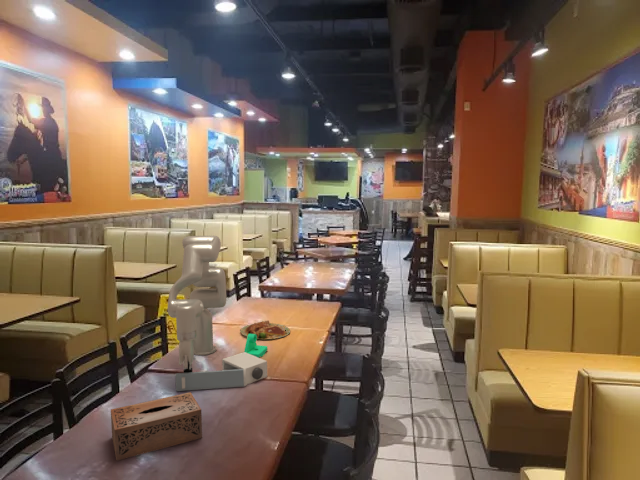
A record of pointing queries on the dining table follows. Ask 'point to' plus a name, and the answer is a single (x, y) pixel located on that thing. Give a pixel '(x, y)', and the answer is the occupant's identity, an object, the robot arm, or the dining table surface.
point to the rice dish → (265, 330)
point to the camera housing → (247, 366)
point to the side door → (210, 379)
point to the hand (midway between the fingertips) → (188, 378)
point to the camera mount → (254, 346)
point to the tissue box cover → (155, 425)
